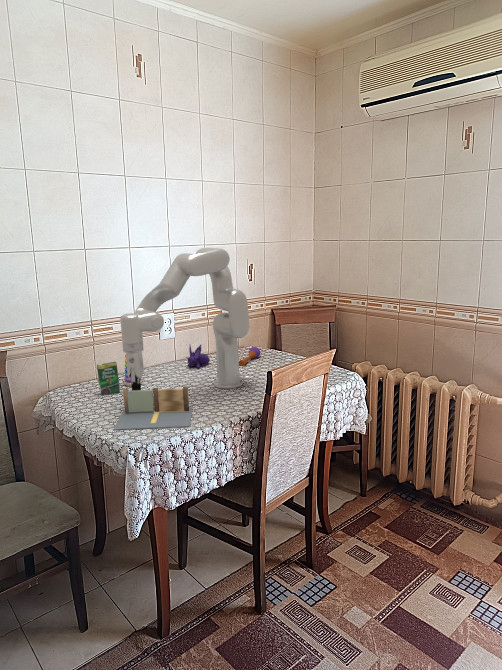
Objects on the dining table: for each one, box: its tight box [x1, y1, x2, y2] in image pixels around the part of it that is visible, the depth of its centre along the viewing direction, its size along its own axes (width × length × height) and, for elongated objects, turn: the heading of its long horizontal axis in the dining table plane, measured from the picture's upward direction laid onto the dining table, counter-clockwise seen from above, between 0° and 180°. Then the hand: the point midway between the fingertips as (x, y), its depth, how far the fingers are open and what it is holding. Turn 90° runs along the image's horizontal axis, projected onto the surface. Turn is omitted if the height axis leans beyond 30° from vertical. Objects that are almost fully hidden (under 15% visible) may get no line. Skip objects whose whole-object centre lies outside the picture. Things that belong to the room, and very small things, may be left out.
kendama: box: [239, 346, 261, 367], centre depth 251 cm, size 6×6×20 cm
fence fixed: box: [152, 385, 190, 412], centre depth 184 cm, size 13×2×9 cm, turn 93°
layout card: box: [112, 405, 194, 431], centre depth 180 cm, size 26×19×1 cm
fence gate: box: [122, 388, 154, 413], centre depth 184 cm, size 11×2×9 cm, turn 93°
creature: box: [185, 344, 210, 369], centre depth 244 cm, size 9×18×12 cm, turn 147°
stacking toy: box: [123, 354, 143, 387], centre depth 217 cm, size 8×8×19 cm
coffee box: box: [96, 361, 121, 396], centre depth 207 cm, size 8×3×13 cm, turn 114°
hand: (136, 393), depth 189 cm, fingers closed
